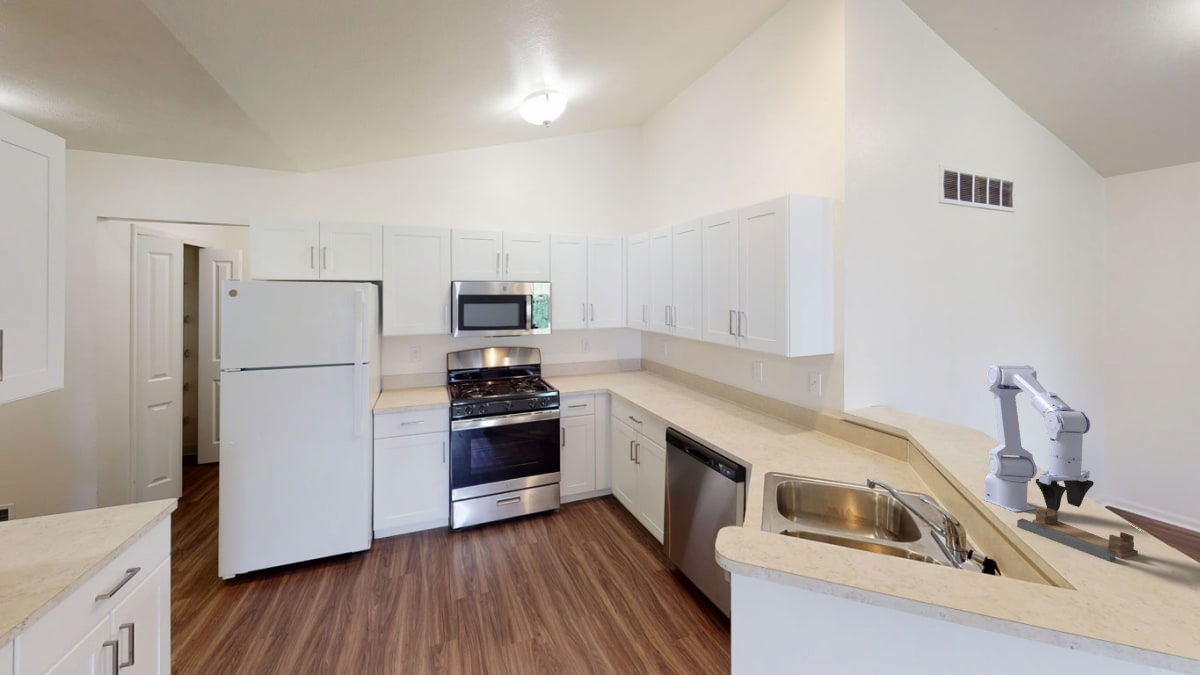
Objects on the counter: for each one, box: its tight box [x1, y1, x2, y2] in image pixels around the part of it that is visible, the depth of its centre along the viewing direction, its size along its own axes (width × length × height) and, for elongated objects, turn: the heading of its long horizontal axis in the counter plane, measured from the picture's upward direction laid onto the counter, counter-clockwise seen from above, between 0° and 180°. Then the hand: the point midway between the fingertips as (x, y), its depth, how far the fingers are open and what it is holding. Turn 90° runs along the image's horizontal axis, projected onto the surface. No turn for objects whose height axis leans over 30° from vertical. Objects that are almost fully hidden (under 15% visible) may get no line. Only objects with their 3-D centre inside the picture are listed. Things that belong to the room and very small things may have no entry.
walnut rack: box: [1031, 507, 1139, 559], centre depth 114 cm, size 18×6×5 cm, turn 13°
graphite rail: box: [1016, 518, 1116, 563], centre depth 112 cm, size 18×2×2 cm, turn 19°
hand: (1063, 507), depth 112 cm, fingers open, 7 cm apart
